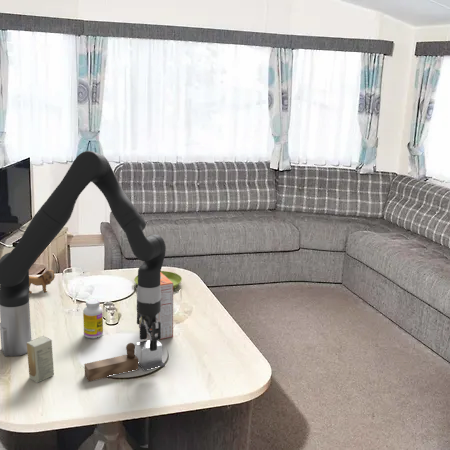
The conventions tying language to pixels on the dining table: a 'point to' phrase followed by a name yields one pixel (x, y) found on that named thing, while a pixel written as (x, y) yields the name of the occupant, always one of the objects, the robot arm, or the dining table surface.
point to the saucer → (170, 275)
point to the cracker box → (166, 308)
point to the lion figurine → (42, 280)
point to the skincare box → (40, 359)
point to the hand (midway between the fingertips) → (148, 344)
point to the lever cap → (148, 353)
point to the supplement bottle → (93, 319)
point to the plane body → (112, 365)
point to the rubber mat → (153, 365)
